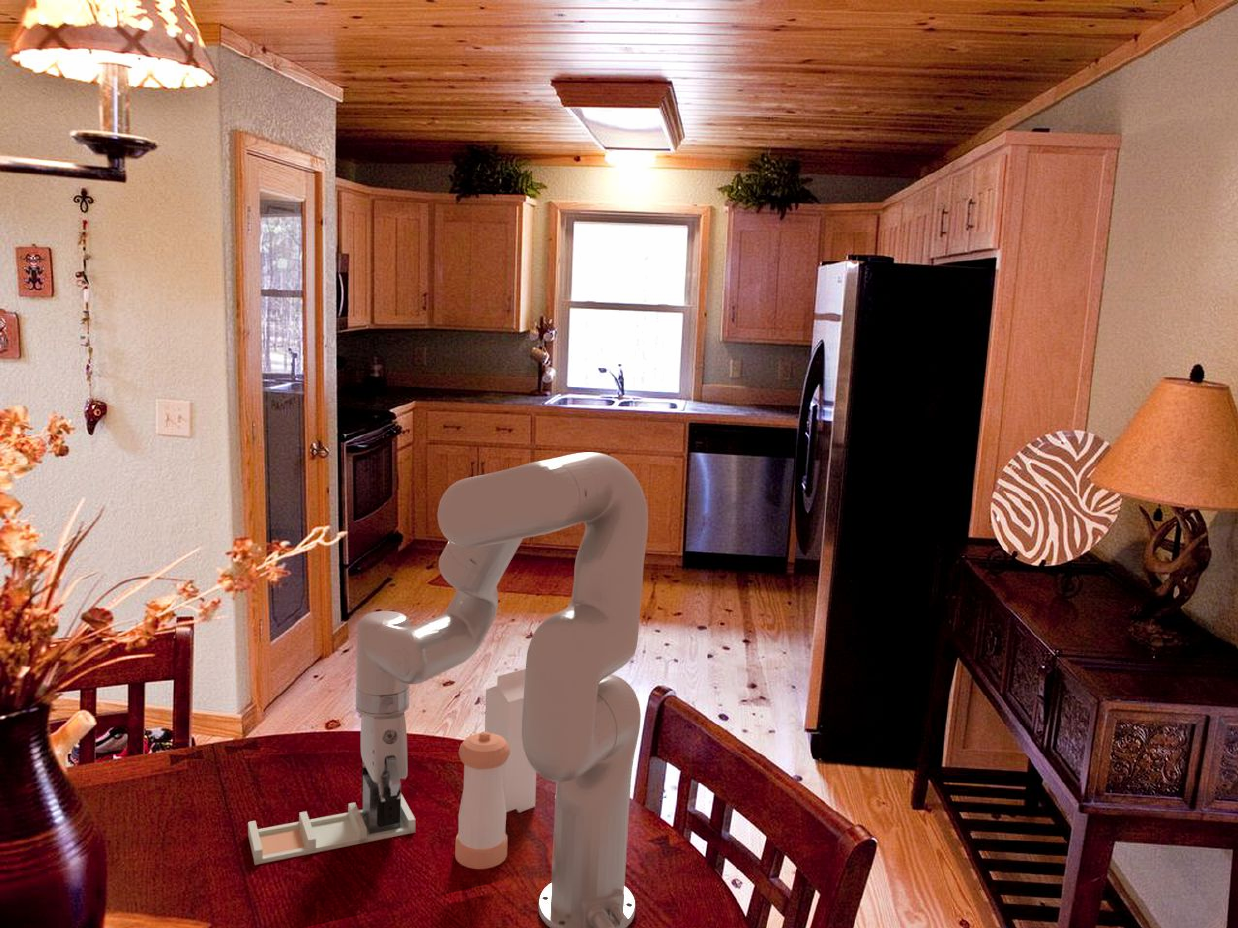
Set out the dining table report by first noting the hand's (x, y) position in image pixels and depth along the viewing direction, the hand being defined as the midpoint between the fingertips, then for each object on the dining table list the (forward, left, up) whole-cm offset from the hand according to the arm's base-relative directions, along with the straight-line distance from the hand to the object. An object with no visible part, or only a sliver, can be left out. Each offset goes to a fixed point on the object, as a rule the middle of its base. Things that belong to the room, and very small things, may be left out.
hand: (380, 807), depth 141 cm
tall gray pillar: (0, 0, -3) cm, 3 cm away
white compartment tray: (0, +7, -4) cm, 8 cm away
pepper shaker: (-13, -11, -4) cm, 18 cm away
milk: (0, -20, -4) cm, 21 cm away
